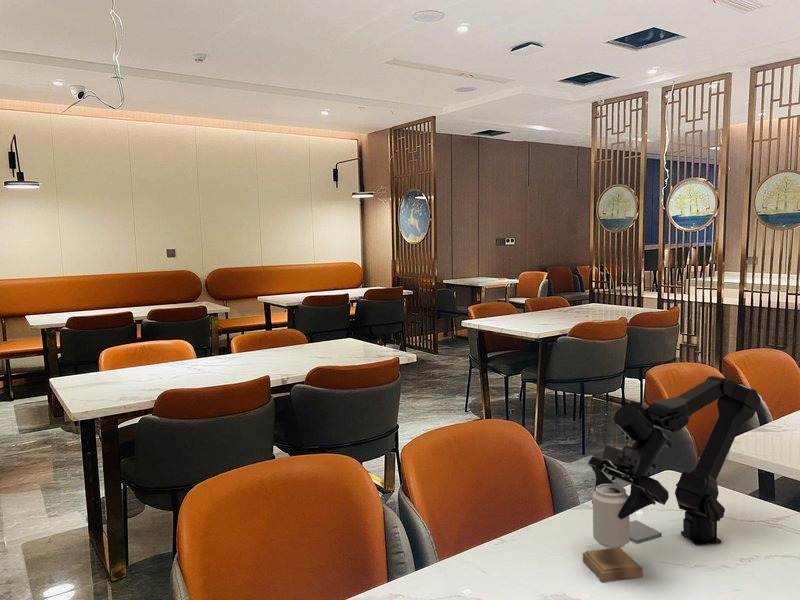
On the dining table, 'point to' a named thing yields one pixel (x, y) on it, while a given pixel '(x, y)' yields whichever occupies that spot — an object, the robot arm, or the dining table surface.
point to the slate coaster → (642, 532)
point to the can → (610, 516)
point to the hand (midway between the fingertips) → (606, 511)
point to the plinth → (612, 564)
